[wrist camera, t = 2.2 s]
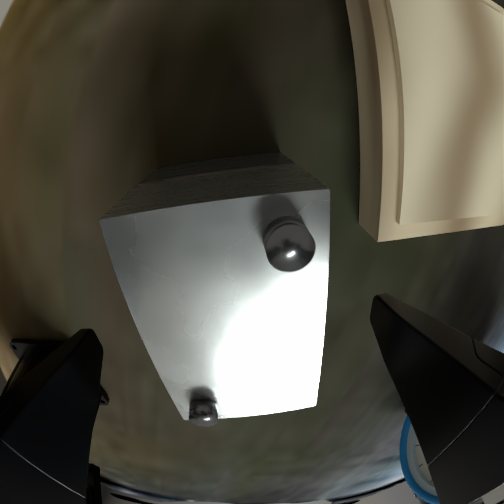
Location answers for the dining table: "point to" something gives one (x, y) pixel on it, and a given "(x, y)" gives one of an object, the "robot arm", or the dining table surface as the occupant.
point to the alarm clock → (417, 466)
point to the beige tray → (429, 115)
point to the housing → (227, 281)
